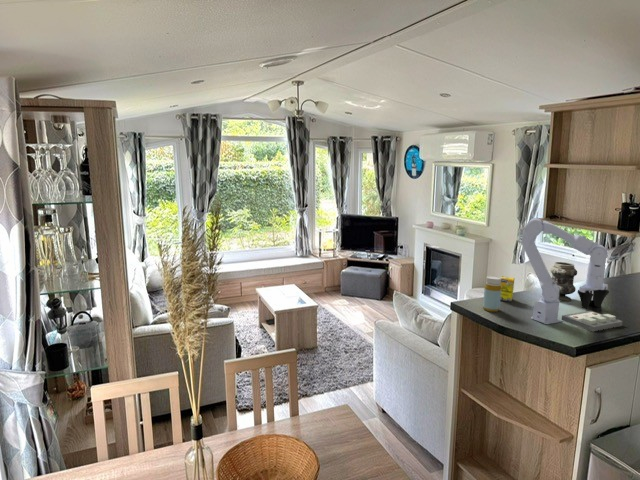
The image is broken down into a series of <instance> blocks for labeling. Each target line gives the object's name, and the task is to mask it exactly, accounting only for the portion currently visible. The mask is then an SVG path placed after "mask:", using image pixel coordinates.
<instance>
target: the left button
mask: <svg viewBox="0 0 640 480" xmlns="http://www.w3.org/2000/svg"><path fill="white" fill-rule="evenodd" d="M582 322H584V323H586V324H589V325H593V324H596V320H595V319H592V318H589V317H586V318H583V319H582Z"/></svg>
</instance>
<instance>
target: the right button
mask: <svg viewBox="0 0 640 480" xmlns="http://www.w3.org/2000/svg"><path fill="white" fill-rule="evenodd" d="M602 317H604V318H606V320H608V321H615V319H616V318H617V317H616V316H615V315H612V314H610V313H604V314H602Z"/></svg>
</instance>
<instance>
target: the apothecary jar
mask: <svg viewBox="0 0 640 480" xmlns="http://www.w3.org/2000/svg"><path fill="white" fill-rule="evenodd" d="M549 271H550V272H549V273H551V274H552V275H551V278H552V279H553V281H554V282H555V283H556V284H557V285H558V286H559V289H560V291H559V298H558V299H559V300H560V301H559V302H572V301H573V300H572V298H571V297H570V296H569V295H571V294H573V293H575V292H576V290H577V289H576V286H575V285H574V279H575V277H576V276H577V275H578V270H577V269H576V268H575V264H574V263H570V262H566V261H565V262H564V261H555V262H554V265H553V266H551V267H550V269H549ZM567 295H568V296H567Z"/></svg>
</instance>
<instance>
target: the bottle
mask: <svg viewBox="0 0 640 480" xmlns="http://www.w3.org/2000/svg"><path fill="white" fill-rule="evenodd" d="M500 298H501V277H500V276H498V275H495V276H494V275H487V276H486V282H485V285H484V292H483V301H482V308H483V310H484V311H486V312H491V313H496V312H499V311H500V307H501V300H500Z"/></svg>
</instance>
